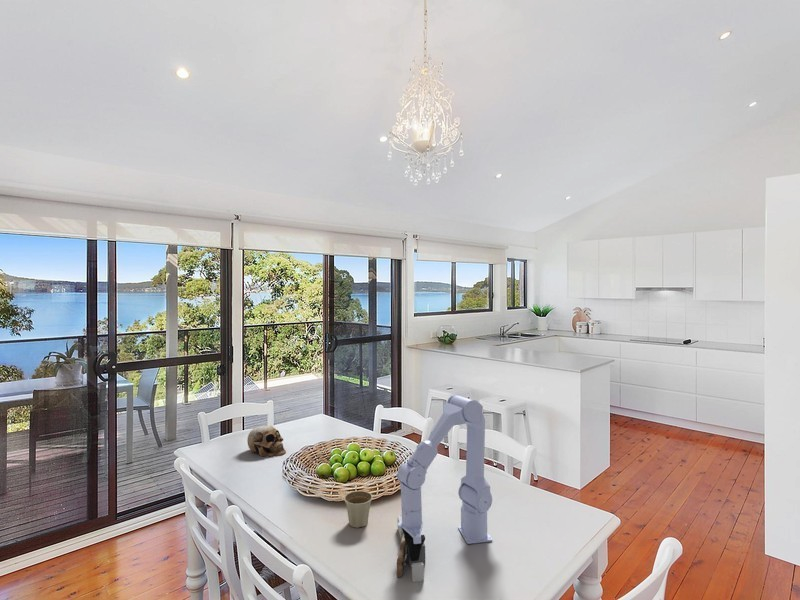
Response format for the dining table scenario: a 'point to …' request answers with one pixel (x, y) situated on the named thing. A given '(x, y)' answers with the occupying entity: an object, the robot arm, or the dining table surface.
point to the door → (401, 557)
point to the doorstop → (421, 557)
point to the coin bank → (266, 441)
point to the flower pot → (358, 507)
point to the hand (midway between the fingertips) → (412, 554)
